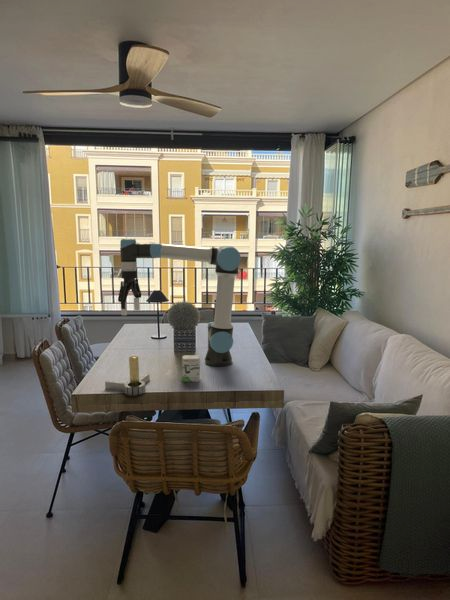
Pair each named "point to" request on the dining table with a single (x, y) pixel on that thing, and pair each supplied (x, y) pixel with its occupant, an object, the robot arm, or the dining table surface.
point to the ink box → (190, 368)
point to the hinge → (127, 388)
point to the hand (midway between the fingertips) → (130, 312)
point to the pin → (134, 371)
